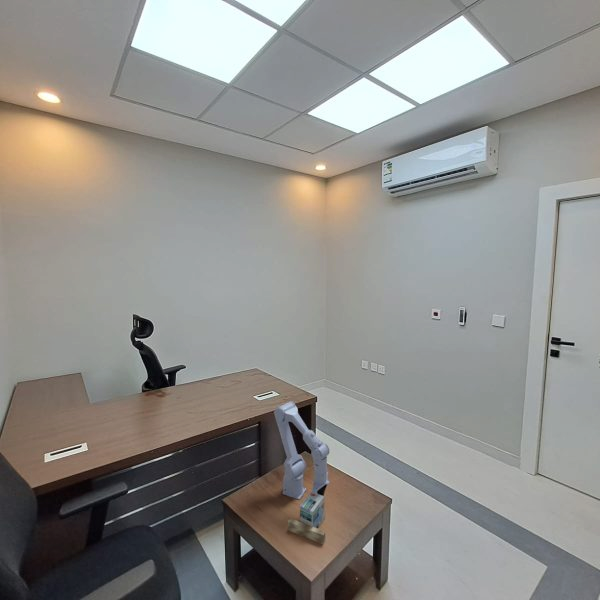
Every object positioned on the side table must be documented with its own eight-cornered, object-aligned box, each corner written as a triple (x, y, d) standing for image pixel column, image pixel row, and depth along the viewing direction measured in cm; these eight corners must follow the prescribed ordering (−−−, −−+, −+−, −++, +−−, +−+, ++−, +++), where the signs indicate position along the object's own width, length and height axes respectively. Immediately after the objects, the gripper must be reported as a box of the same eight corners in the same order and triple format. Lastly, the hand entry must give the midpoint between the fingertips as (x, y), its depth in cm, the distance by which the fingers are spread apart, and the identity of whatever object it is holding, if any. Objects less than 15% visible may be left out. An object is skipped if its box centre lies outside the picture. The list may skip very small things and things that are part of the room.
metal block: (288, 530, 134) (287, 521, 133) (290, 526, 135) (290, 518, 135) (323, 544, 127) (323, 535, 126) (325, 540, 129) (325, 531, 128)
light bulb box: (313, 536, 131) (313, 512, 129) (299, 529, 134) (299, 505, 133) (325, 518, 140) (325, 496, 138) (311, 512, 143) (311, 490, 142)
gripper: (322, 483, 135) (322, 512, 137) (334, 464, 148) (334, 490, 150) (307, 478, 138) (307, 507, 140) (320, 460, 151) (320, 486, 153)
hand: (320, 498), depth 145 cm, fingers closed
